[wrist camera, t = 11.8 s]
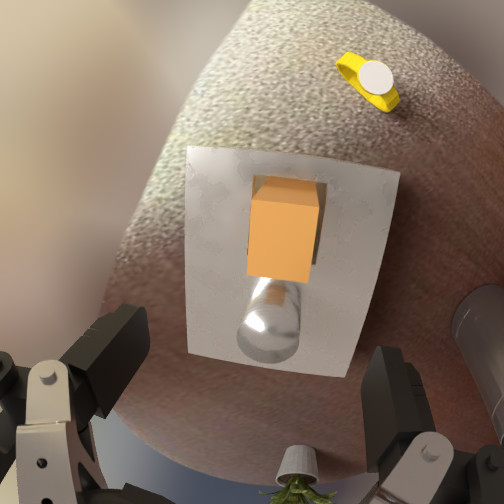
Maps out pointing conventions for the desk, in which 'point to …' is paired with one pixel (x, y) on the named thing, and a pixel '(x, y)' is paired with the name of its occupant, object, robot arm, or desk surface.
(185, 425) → the desk surface
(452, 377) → the desk surface
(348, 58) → the watch
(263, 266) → the orange rectangular prism
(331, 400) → the desk surface
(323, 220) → the two-tier square platform
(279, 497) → the house plant
